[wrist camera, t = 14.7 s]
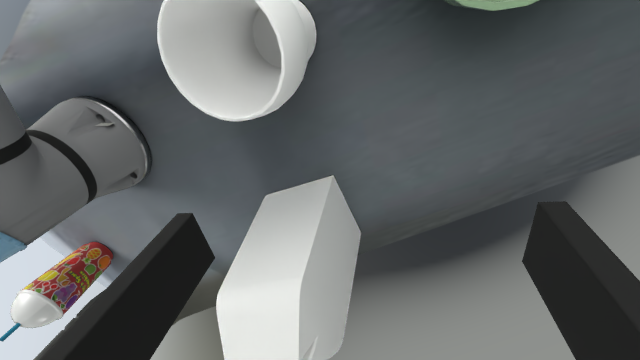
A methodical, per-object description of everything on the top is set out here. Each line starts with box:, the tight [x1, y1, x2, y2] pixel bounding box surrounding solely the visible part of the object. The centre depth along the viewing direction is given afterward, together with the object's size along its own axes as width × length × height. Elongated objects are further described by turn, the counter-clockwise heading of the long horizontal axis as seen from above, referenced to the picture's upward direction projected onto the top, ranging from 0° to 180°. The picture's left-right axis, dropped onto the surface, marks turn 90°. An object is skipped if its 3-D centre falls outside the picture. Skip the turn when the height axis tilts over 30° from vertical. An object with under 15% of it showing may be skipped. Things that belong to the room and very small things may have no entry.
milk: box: [216, 175, 361, 360], centre depth 35 cm, size 12×12×26 cm
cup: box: [157, 0, 316, 122], centre depth 26 cm, size 11×11×15 cm
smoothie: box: [0, 242, 113, 341], centre depth 55 cm, size 8×8×20 cm
